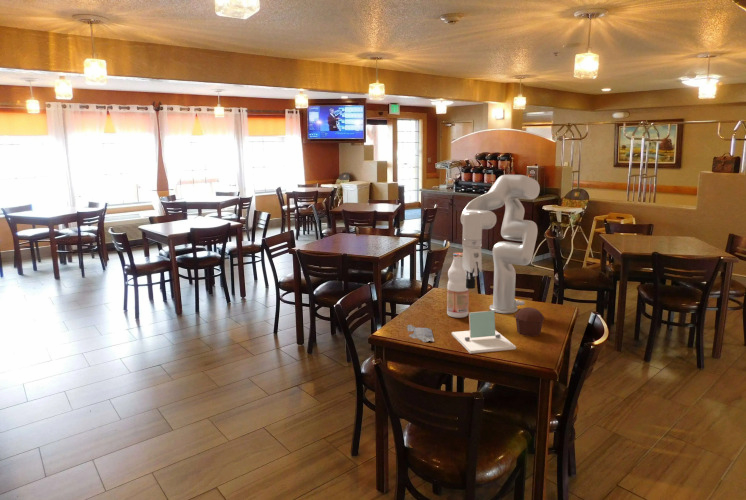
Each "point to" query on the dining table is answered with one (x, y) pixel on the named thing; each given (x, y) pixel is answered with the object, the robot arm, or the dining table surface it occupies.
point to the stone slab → (421, 333)
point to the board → (483, 342)
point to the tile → (482, 324)
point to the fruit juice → (457, 289)
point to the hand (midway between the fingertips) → (470, 288)
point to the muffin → (529, 321)
